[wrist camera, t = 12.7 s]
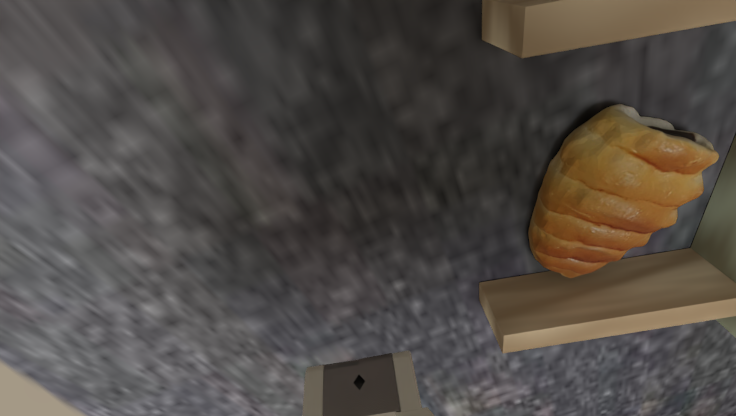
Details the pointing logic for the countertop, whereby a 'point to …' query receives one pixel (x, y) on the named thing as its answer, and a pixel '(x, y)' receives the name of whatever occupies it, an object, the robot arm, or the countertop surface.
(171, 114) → the countertop surface
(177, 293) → the countertop surface
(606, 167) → the pastry
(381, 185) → the countertop surface
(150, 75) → the countertop surface
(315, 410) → the robot arm
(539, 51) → the wooden wall rack
